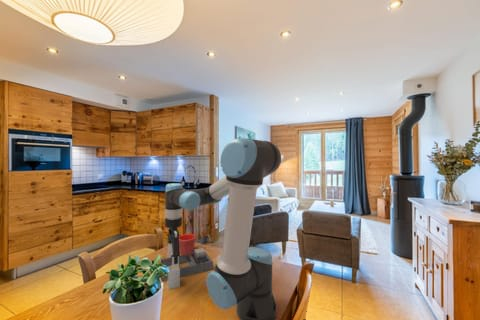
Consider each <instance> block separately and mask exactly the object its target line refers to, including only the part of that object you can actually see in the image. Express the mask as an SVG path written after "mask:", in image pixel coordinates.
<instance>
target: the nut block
mask: <svg viewBox="0 0 480 320" xmlns="http://www.w3.org/2000/svg"><path fill="white" fill-rule="evenodd" d="M167 267H168V268H169V270H170V273H169V274H168V275H167V280H166V286H167V290H169V291H170V290H172V289H177V288H180V286H181V277H180V267H179V270H177V271H173V272H172V266H167ZM167 267H166V268H167Z"/></svg>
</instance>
